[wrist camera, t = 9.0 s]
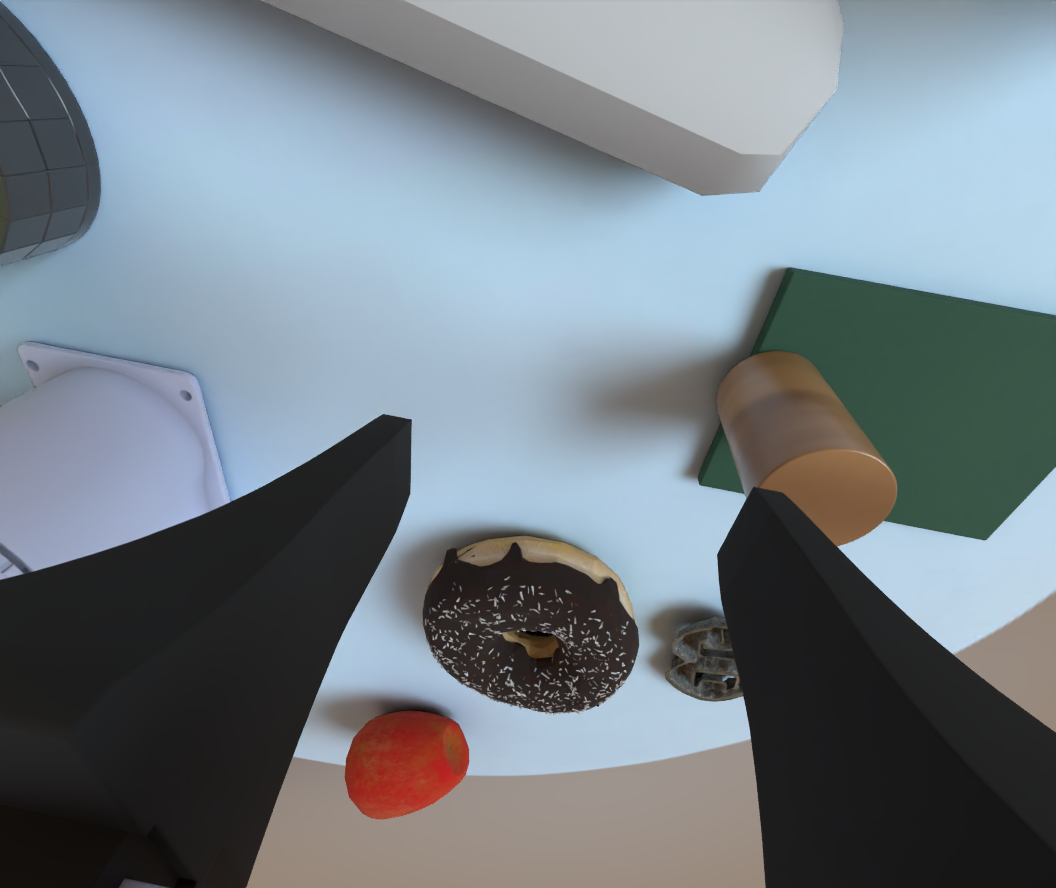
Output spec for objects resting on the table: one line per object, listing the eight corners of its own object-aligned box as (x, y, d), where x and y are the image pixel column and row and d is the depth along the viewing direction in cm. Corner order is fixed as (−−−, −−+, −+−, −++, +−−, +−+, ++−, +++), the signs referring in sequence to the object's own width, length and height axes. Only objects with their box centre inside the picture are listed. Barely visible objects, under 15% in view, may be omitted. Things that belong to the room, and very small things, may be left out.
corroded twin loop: (775, 612, 25) (780, 631, 24) (750, 690, 30) (753, 708, 29) (669, 604, 26) (670, 623, 25) (662, 681, 31) (663, 698, 30)
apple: (428, 693, 33) (334, 719, 35) (434, 809, 30) (330, 830, 31) (475, 698, 38) (391, 720, 40) (485, 798, 35) (393, 817, 36)
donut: (605, 506, 24) (604, 573, 20) (658, 657, 29) (664, 728, 26) (399, 542, 27) (370, 605, 24) (484, 672, 33) (470, 736, 29)
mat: (977, 531, 22) (986, 541, 21) (697, 476, 22) (698, 485, 21) (1159, 334, 16) (1176, 341, 16) (787, 266, 17) (793, 271, 16)
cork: (794, 444, 20) (855, 560, 15) (702, 426, 20) (731, 536, 15) (840, 360, 18) (928, 464, 13) (737, 341, 18) (785, 437, 13)
